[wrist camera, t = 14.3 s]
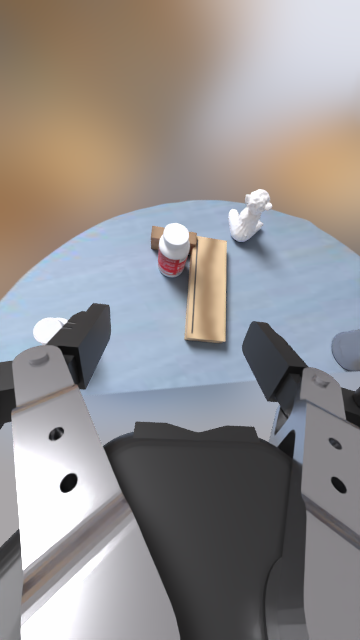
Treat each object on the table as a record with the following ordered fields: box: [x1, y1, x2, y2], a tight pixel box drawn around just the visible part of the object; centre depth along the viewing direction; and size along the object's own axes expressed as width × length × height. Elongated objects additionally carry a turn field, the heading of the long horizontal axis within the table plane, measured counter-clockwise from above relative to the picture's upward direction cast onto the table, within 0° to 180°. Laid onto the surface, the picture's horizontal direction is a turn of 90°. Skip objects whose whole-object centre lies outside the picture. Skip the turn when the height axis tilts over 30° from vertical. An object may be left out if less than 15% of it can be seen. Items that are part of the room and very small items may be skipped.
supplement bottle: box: [33, 318, 68, 345], centre depth 32 cm, size 5×5×10 cm
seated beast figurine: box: [228, 189, 272, 242], centre depth 43 cm, size 10×9×12 cm
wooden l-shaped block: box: [151, 226, 227, 343], centre depth 40 cm, size 18×24×4 cm
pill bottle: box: [158, 223, 190, 277], centre depth 38 cm, size 6×6×11 cm
